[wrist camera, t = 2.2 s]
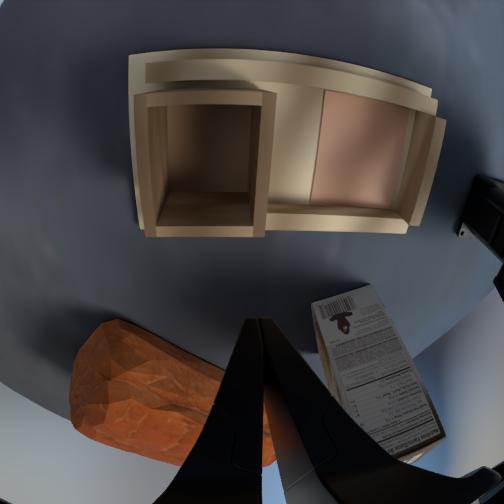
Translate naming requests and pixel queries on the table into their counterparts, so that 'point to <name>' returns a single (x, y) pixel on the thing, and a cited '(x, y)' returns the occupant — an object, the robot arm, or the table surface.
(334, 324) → the coffee box
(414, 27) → the table surface
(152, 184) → the crate
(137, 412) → the bread
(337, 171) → the beige cubby shelf
